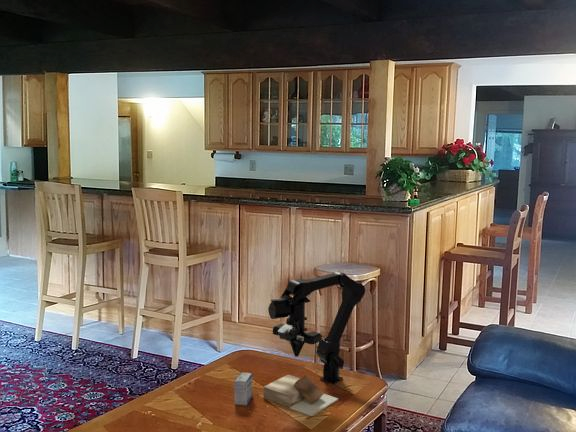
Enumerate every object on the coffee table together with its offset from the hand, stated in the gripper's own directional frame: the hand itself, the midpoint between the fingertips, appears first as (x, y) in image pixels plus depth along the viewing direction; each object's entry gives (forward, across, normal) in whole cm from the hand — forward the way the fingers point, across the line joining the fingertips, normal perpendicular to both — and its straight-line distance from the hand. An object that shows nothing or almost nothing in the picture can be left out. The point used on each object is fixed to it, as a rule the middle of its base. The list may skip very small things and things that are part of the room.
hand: (296, 356), depth 220 cm
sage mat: (+12, +13, -7) cm, 19 cm away
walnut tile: (+9, +9, -6) cm, 14 cm away
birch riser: (+12, +2, -7) cm, 14 cm away
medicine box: (+12, -8, -20) cm, 25 cm away
